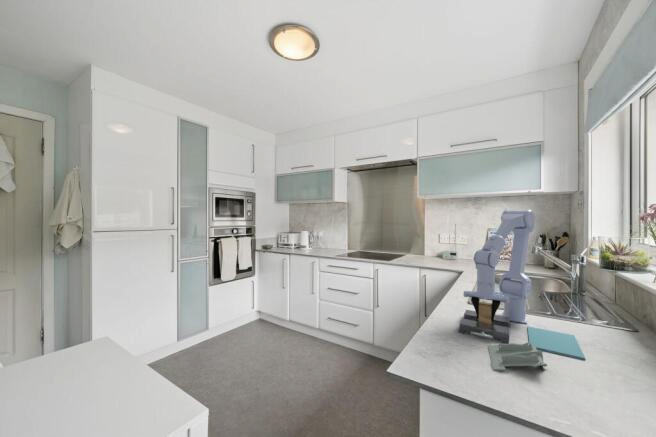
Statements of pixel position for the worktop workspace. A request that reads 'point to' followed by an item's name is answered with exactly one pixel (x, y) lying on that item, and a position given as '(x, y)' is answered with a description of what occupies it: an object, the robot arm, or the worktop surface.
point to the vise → (485, 327)
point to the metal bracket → (514, 355)
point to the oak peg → (485, 312)
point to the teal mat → (555, 342)
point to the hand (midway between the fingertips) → (485, 318)
